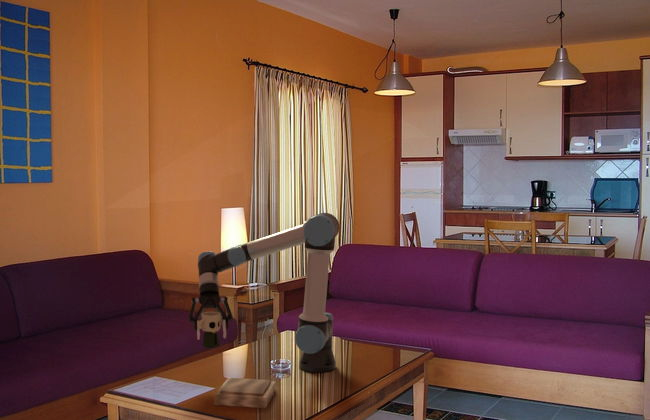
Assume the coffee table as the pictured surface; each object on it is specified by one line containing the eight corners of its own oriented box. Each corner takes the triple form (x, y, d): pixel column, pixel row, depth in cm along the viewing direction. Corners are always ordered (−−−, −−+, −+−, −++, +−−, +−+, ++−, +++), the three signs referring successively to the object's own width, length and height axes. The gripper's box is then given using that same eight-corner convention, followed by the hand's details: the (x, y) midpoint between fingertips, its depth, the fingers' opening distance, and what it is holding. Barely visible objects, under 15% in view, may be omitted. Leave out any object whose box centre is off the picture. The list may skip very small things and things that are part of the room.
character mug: (205, 352, 247) (205, 317, 246) (193, 348, 252) (193, 314, 251) (228, 346, 255) (228, 312, 254) (216, 342, 260) (216, 309, 259)
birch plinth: (275, 390, 248) (275, 379, 248) (265, 408, 230) (266, 395, 230) (227, 387, 250) (227, 376, 250) (214, 404, 232) (214, 392, 232)
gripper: (235, 291, 270) (240, 341, 255) (180, 293, 264) (181, 343, 250) (237, 280, 264) (242, 330, 250) (181, 281, 259) (182, 332, 245)
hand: (211, 337), depth 250 cm, fingers closed on character mug, 9 cm apart
